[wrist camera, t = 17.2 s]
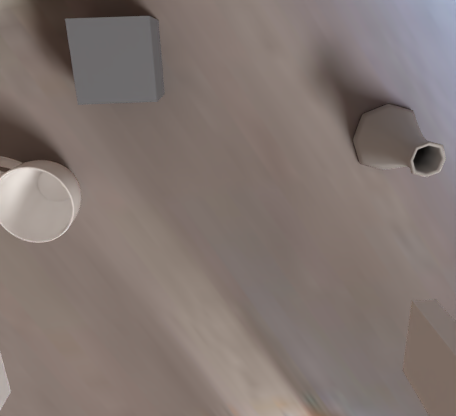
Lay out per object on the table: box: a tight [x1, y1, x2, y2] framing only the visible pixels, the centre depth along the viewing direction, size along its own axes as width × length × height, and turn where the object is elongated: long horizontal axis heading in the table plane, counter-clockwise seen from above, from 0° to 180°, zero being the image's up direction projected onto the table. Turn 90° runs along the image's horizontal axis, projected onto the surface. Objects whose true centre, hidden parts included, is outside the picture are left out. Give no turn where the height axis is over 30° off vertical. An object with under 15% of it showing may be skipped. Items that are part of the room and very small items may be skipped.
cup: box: [0, 156, 82, 242], centre depth 44 cm, size 8×10×7 cm
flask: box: [353, 104, 446, 177], centre depth 42 cm, size 7×7×10 cm
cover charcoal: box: [65, 16, 164, 105], centre depth 40 cm, size 7×7×6 cm
